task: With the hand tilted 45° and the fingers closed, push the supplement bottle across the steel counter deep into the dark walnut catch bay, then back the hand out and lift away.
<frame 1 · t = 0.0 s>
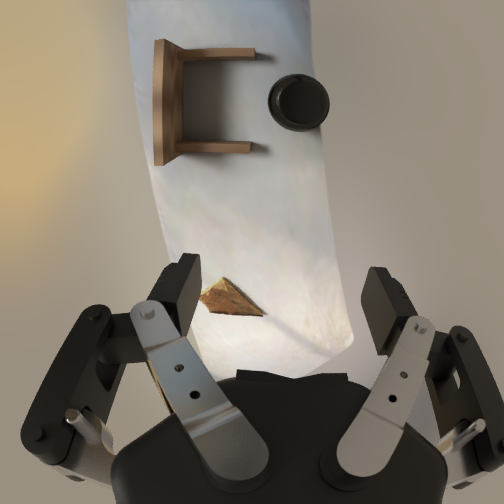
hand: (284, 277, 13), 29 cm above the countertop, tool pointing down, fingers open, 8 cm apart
shard: (231, 293, 52), on the countertop
catch bay: (217, 99, 35), on the countertop
supplement bottle: (293, 103, 35), on the countertop
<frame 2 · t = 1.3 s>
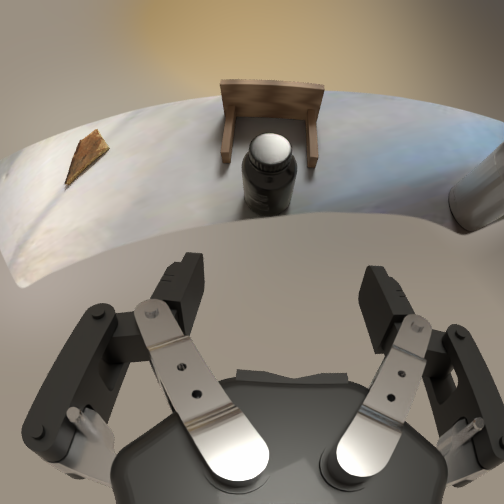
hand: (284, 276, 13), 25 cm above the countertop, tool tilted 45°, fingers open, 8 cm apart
shard: (92, 159, 45), on the countertop
catch bay: (270, 139, 44), on the countertop
supplement bottle: (267, 196, 41), on the countertop
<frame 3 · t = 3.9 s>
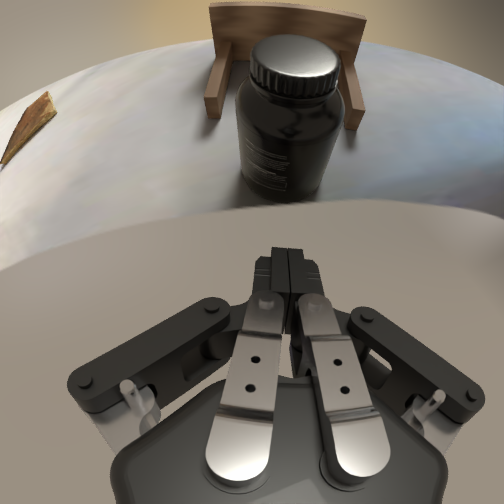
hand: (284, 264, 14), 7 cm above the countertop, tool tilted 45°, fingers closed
shard: (36, 129, 27), on the countertop
catch bay: (284, 88, 26), on the countertop
supplement bottle: (281, 170, 23), on the countertop
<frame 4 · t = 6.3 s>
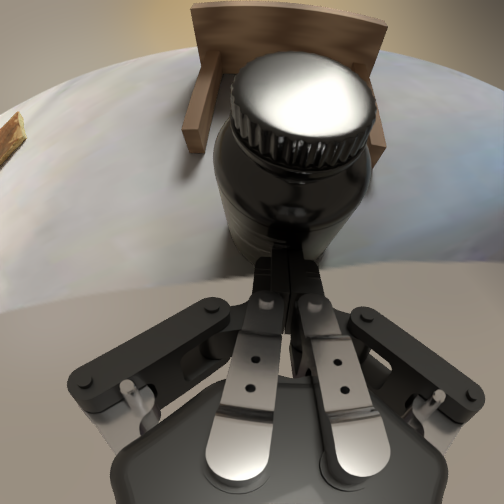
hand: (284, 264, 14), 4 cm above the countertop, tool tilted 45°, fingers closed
shard: (7, 156, 23), on the countertop
catch bay: (284, 110, 22), on the countertop
supplement bottle: (279, 224, 19), on the countertop, touching gripper
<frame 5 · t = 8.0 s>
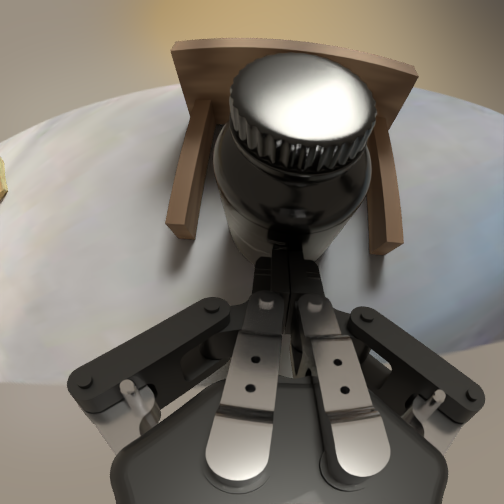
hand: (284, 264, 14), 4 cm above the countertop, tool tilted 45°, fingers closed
catch bay: (287, 180, 20), on the countertop
supplement bottle: (280, 225, 19), on the countertop, touching gripper
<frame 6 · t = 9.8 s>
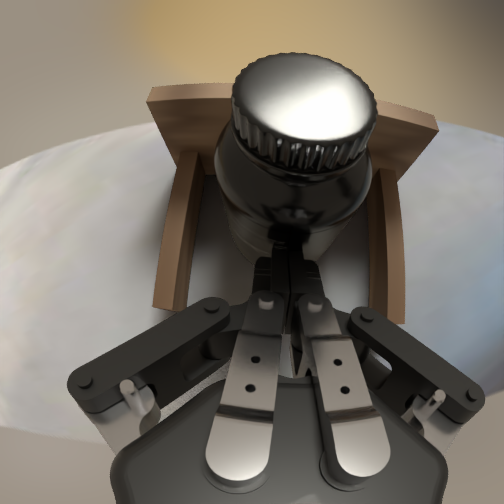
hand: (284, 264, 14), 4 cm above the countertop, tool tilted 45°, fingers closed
catch bay: (284, 245, 19), on the countertop
supplement bottle: (281, 225, 19), on the countertop, touching gripper
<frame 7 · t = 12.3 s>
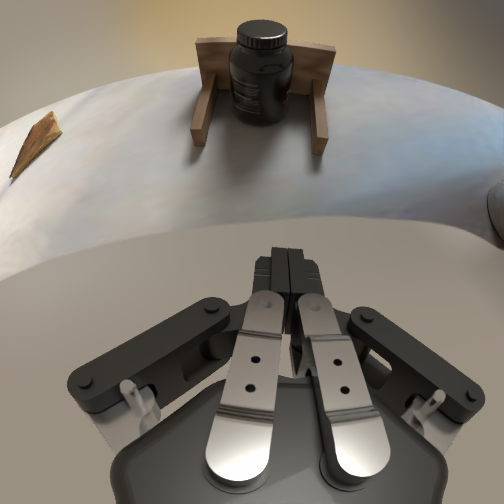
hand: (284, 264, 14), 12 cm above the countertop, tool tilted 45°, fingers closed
shard: (43, 146, 32), on the countertop
catch bay: (261, 116, 31), on the countertop
supplement bottle: (259, 109, 32), on the countertop
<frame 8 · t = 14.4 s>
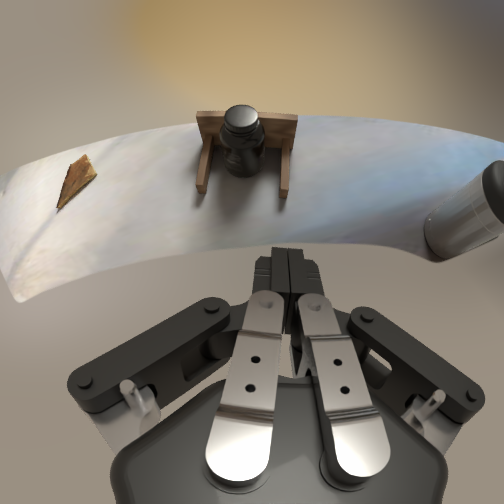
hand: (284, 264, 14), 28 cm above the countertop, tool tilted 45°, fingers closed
shard: (81, 183, 48), on the countertop
catch bay: (245, 169, 47), on the countertop
supplement bottle: (244, 162, 48), on the countertop
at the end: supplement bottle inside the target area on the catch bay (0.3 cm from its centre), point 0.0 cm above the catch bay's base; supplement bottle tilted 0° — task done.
